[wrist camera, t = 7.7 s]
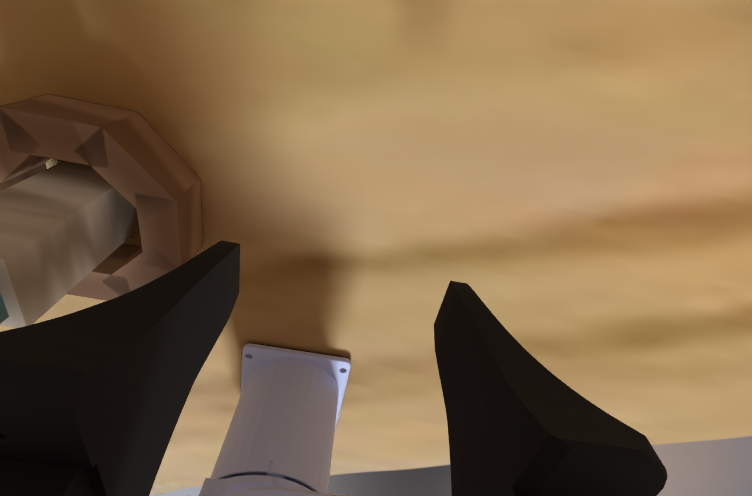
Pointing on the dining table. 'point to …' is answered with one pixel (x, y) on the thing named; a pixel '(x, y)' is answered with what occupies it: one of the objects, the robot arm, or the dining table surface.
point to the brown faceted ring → (111, 181)
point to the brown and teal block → (56, 236)
